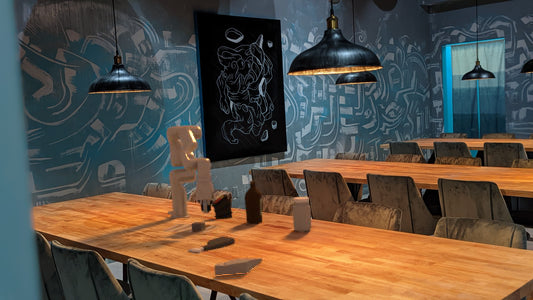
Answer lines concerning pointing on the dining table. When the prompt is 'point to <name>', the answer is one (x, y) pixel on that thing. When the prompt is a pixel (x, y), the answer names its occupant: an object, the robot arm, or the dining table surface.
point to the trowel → (236, 266)
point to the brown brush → (214, 244)
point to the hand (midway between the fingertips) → (206, 211)
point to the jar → (301, 214)
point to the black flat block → (222, 207)
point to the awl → (205, 206)
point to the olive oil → (253, 204)
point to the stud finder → (198, 226)
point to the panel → (189, 228)
